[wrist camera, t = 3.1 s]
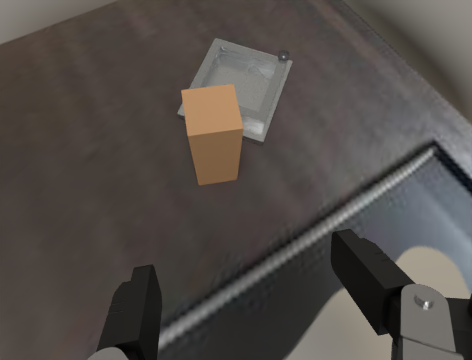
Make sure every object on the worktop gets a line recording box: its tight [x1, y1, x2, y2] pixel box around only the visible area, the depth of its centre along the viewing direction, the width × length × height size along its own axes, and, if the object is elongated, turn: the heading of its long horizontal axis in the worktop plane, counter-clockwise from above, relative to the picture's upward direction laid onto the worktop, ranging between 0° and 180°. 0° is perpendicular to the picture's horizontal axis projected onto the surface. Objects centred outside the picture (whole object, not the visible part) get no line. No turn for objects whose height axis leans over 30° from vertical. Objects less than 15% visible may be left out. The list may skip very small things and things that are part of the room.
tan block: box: [181, 84, 243, 185], centre depth 26 cm, size 4×4×10 cm
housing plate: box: [177, 38, 292, 145], centre depth 33 cm, size 12×10×3 cm
